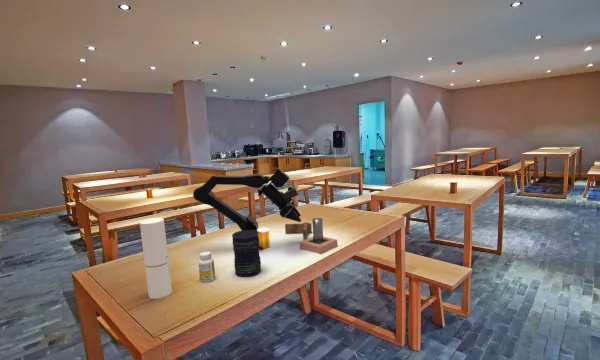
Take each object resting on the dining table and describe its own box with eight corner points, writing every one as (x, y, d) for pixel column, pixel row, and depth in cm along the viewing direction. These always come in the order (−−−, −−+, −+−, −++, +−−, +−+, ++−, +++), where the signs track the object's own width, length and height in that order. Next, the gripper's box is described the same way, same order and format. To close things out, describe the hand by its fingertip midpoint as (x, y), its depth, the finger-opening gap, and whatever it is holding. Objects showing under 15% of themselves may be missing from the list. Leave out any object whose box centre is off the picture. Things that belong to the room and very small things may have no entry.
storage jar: (266, 271, 120) (263, 233, 118) (244, 280, 113) (240, 239, 111) (252, 264, 127) (249, 228, 125) (230, 272, 121) (226, 234, 119)
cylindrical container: (175, 287, 110) (167, 217, 107) (167, 298, 103) (158, 223, 100) (154, 289, 110) (145, 218, 107) (144, 299, 103) (135, 224, 100)
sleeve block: (320, 254, 135) (320, 247, 134) (299, 248, 143) (299, 242, 142) (337, 246, 143) (337, 239, 143) (316, 241, 151) (316, 235, 151)
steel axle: (322, 249, 140) (321, 220, 139) (313, 248, 141) (311, 220, 140) (324, 245, 145) (322, 217, 143) (314, 245, 146) (313, 217, 144)
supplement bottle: (209, 274, 120) (207, 249, 119) (218, 277, 116) (216, 252, 115) (197, 279, 116) (194, 254, 114) (205, 283, 112) (203, 257, 111)
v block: (304, 240, 154) (304, 230, 153) (284, 233, 166) (283, 224, 165) (319, 235, 160) (319, 225, 159) (299, 229, 172) (298, 220, 172)
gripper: (286, 185, 130) (314, 210, 132) (287, 179, 149) (311, 201, 150) (268, 204, 131) (295, 229, 133) (271, 196, 150) (295, 218, 151)
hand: (300, 218), depth 142 cm, fingers open, 9 cm apart
